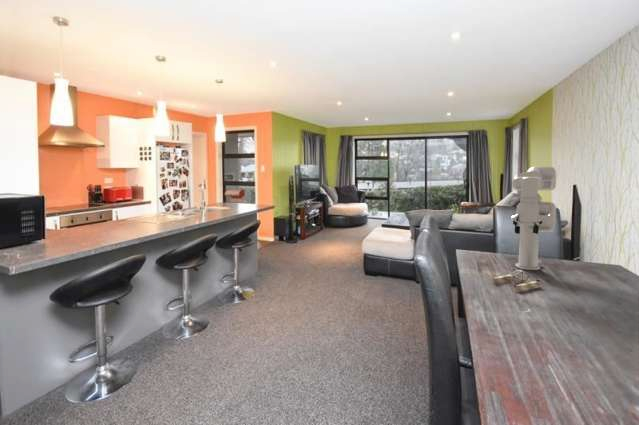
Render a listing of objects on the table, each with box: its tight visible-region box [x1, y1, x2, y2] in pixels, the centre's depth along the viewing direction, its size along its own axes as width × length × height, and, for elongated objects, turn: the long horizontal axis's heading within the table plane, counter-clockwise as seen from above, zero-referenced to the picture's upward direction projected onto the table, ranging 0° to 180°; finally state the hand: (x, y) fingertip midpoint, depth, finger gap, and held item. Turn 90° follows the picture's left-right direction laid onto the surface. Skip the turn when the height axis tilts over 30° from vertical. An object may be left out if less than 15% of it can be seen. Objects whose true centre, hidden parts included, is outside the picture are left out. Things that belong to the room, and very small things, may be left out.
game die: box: [508, 268, 529, 286], centre depth 172 cm, size 9×8×10 cm
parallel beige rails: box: [492, 273, 542, 293], centre depth 171 cm, size 16×14×4 cm
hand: (526, 233), depth 179 cm, fingers open, 9 cm apart
